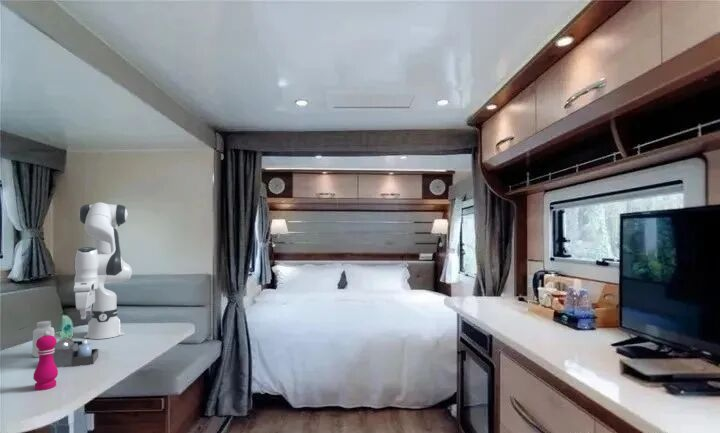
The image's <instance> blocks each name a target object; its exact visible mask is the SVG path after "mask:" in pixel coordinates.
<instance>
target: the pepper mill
mask: <svg viewBox="0 0 720 433" xmlns="http://www.w3.org/2000/svg"><path fill="white" fill-rule="evenodd" d="M49 334H50V333H49V332H48V331H46V332H44V336H42V337H40V338H39V339H38V340H37V342H36V347H37V348H38V349H39V350H38V355H39V357H38V364H37V366H36V368H35V370H34V372H33V377H32V378H33V381H35V383H34V389H35V390H36V391H45V390H50V389H53V388H54V387H56V386H57V380H56V379H57V377H58V375H59V371H58V367H56V365H55V363H54V360H53V353H54V352H55V351H54V350H55V348H54V346H55V345H56V343H57V342H58V341H57V338H56V337H55V335H54V336H51V335H49Z"/></svg>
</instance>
